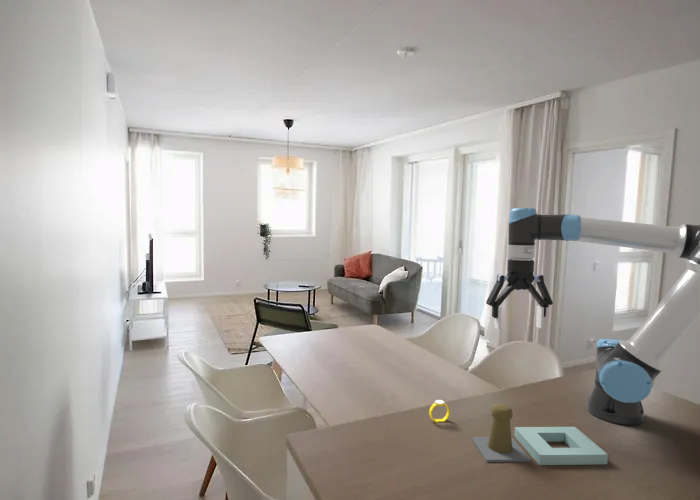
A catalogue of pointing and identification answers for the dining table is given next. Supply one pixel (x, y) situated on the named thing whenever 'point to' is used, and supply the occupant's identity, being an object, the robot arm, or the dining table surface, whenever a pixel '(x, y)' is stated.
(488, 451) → the rubber mat
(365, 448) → the dining table surface
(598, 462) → the socket board
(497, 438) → the cork
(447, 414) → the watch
